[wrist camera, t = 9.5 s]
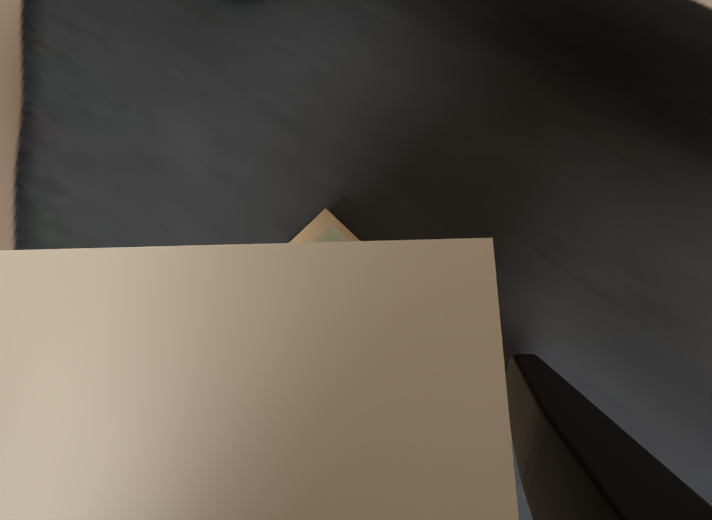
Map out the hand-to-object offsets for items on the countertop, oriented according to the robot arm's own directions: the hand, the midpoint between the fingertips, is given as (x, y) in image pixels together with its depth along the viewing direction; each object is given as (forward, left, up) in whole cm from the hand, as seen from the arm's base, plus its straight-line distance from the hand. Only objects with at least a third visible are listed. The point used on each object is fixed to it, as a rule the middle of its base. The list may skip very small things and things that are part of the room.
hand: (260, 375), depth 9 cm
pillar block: (-1, -1, -9) cm, 9 cm away
